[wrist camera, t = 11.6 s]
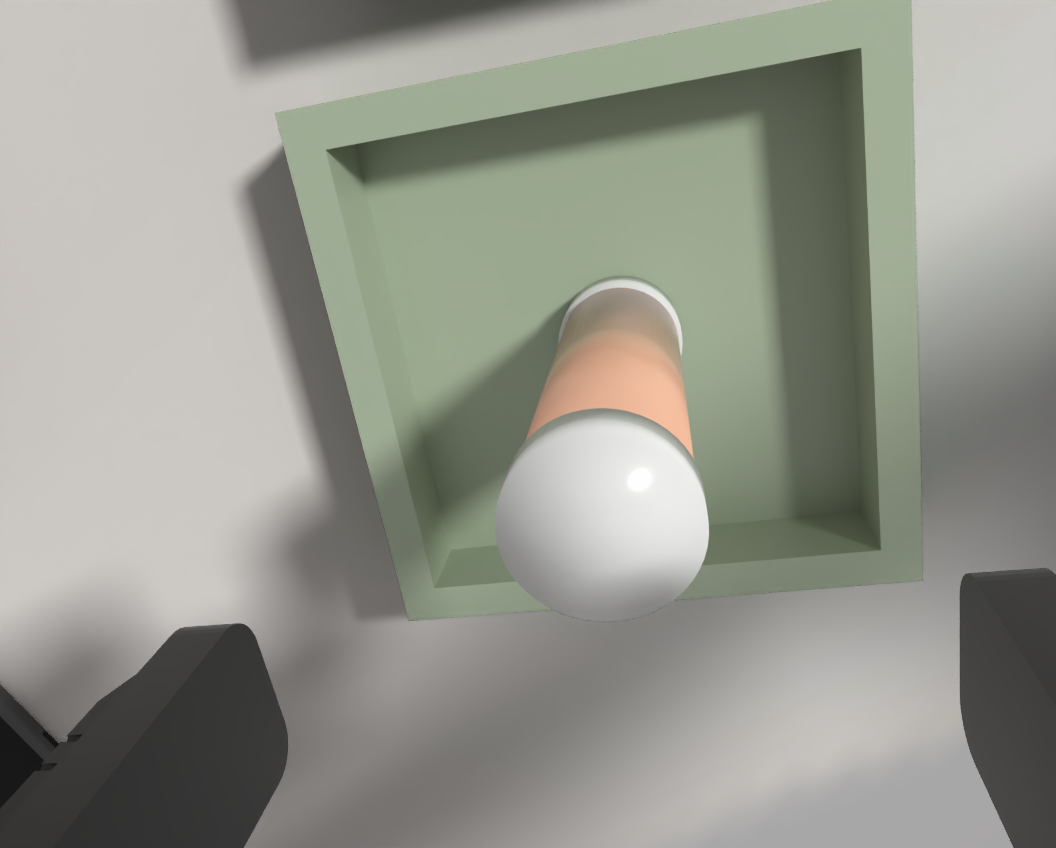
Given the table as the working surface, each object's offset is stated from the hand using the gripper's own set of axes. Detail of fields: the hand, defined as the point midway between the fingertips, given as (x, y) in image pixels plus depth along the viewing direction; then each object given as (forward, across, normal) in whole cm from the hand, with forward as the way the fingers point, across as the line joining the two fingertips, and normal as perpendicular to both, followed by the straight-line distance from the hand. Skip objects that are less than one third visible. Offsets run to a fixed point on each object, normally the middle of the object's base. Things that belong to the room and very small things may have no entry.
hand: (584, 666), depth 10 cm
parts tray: (+15, 0, 0) cm, 15 cm away
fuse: (+14, 0, 0) cm, 14 cm away
